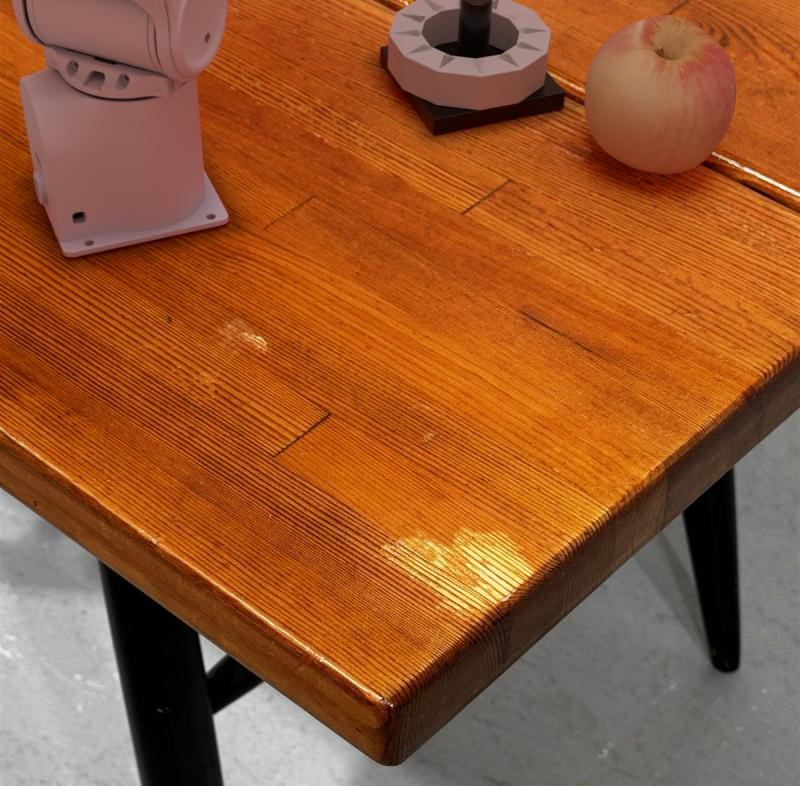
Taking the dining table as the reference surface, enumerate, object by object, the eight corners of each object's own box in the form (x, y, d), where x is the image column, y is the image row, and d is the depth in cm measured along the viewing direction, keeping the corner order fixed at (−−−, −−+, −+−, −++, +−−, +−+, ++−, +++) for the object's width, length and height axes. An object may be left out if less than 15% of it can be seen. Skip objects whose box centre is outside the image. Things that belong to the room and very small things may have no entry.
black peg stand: (433, 136, 90) (438, 45, 85) (379, 62, 95) (381, -26, 91) (563, 109, 92) (575, 19, 88) (503, 39, 98) (511, -49, 93)
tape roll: (423, 120, 89) (424, 86, 87) (368, 39, 95) (368, 5, 93) (571, 94, 91) (576, 59, 90) (508, 16, 98) (511, -17, 96)
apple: (655, 102, 93) (676, -15, 87) (751, 171, 88) (780, 53, 82) (547, 142, 90) (562, 23, 84) (640, 216, 85) (662, 95, 79)
